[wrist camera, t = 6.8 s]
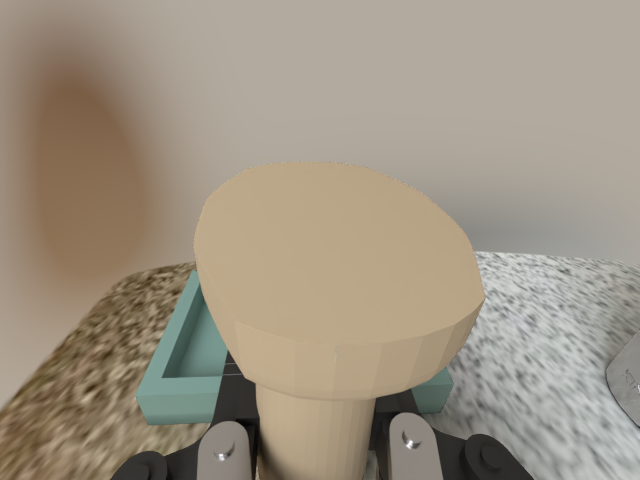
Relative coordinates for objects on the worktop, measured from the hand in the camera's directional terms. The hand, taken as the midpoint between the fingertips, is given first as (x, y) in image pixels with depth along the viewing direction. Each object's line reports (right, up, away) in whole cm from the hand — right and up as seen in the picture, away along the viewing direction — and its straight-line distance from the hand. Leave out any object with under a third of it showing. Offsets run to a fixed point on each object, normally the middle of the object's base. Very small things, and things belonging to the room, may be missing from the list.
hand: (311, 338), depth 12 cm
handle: (0, -8, +2) cm, 9 cm away
